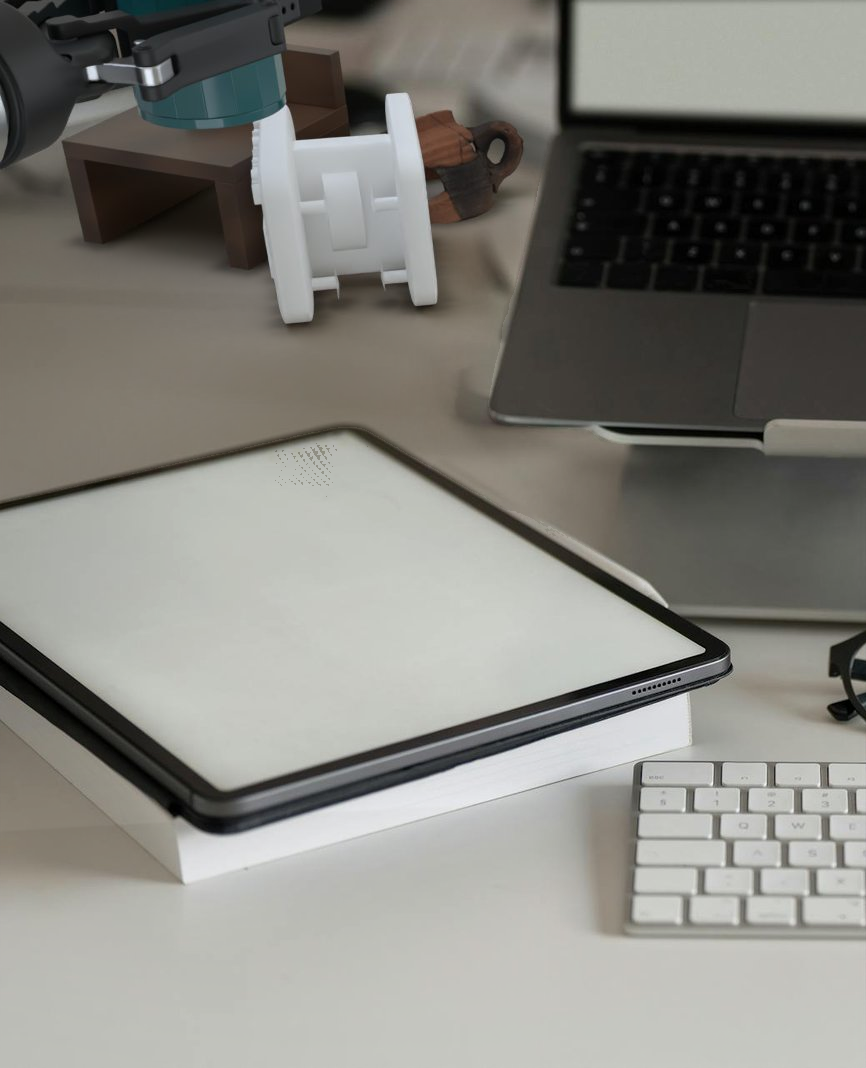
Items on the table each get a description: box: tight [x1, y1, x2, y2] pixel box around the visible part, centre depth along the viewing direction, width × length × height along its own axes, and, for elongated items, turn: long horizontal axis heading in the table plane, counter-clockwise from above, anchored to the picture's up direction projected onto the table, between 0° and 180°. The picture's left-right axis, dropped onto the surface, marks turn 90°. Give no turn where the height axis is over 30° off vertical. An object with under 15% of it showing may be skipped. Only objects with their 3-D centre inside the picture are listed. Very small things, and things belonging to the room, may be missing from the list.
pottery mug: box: [379, 109, 525, 224], centre depth 129 cm, size 12×10×8 cm
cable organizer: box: [251, 92, 438, 325], centre depth 114 cm, size 15×11×12 cm
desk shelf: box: [61, 43, 351, 271], centre depth 123 cm, size 14×14×12 cm
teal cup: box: [115, 0, 286, 130], centre depth 93 cm, size 8×8×11 cm
